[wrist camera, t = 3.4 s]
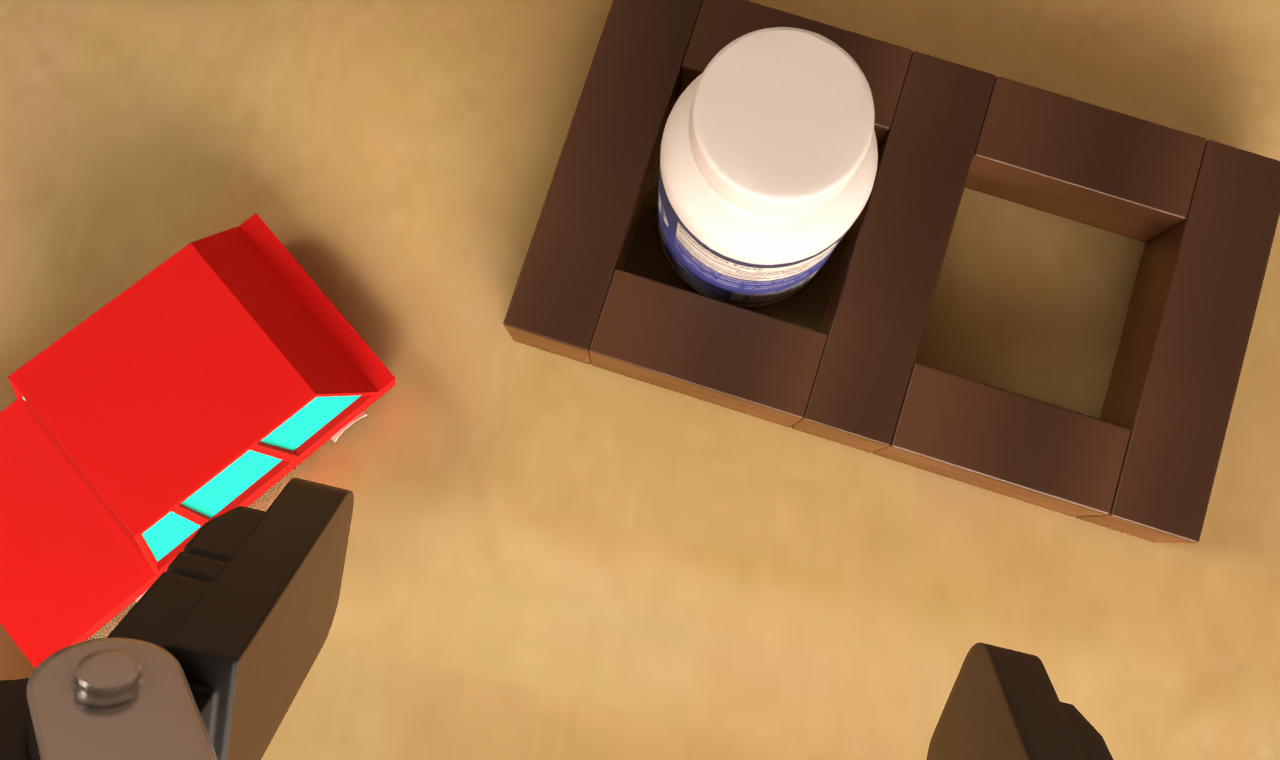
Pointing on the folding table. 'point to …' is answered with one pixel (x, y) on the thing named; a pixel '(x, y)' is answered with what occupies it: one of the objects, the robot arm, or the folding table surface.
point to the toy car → (165, 426)
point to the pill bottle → (765, 165)
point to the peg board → (922, 273)
